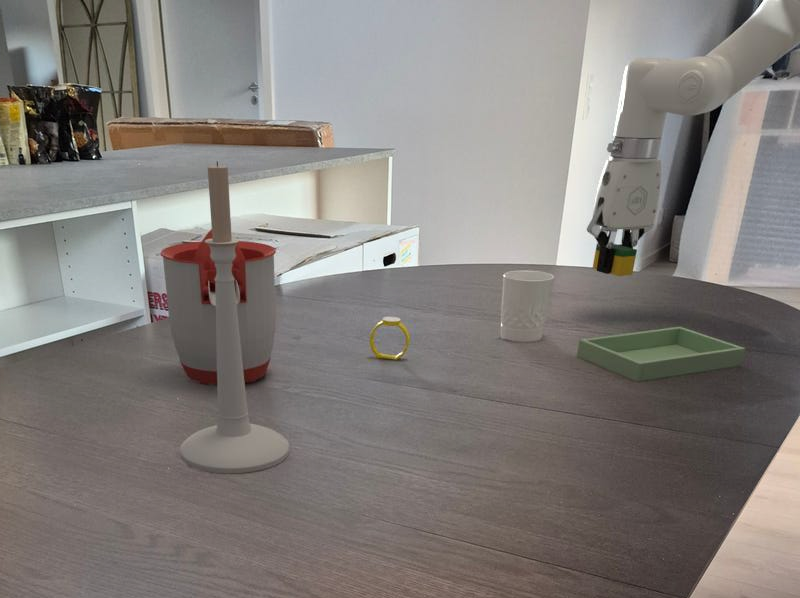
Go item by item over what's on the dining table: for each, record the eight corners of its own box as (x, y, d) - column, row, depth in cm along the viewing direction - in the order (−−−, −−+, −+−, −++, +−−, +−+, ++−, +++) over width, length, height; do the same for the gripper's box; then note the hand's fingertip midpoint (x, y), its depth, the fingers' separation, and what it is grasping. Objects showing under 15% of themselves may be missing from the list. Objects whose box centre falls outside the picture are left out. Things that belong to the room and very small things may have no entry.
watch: (367, 359, 131) (369, 319, 127) (371, 354, 133) (372, 315, 130) (406, 362, 130) (408, 322, 126) (409, 357, 132) (411, 317, 129)
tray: (675, 346, 137) (679, 326, 135) (739, 369, 127) (745, 348, 125) (575, 360, 131) (579, 339, 129) (635, 385, 120) (639, 363, 118)
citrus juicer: (173, 398, 116) (157, 239, 104) (172, 362, 130) (157, 218, 118) (287, 392, 118) (283, 235, 106) (273, 357, 132) (268, 215, 120)
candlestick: (300, 436, 104) (296, 156, 87) (272, 478, 93) (261, 169, 77) (202, 428, 106) (179, 154, 89) (164, 468, 96) (130, 166, 79)
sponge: (605, 267, 151) (610, 242, 148) (632, 274, 145) (637, 249, 143) (592, 268, 150) (596, 243, 147) (618, 276, 144) (623, 250, 142)
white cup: (491, 343, 138) (499, 278, 133) (501, 331, 144) (508, 268, 139) (540, 348, 136) (549, 282, 130) (548, 336, 142) (557, 272, 136)
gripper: (609, 153, 132) (587, 279, 142) (690, 150, 137) (664, 272, 147) (579, 149, 137) (560, 271, 148) (658, 146, 143) (635, 264, 153)
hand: (612, 270), depth 147 cm, fingers closed on sponge, 3 cm apart
